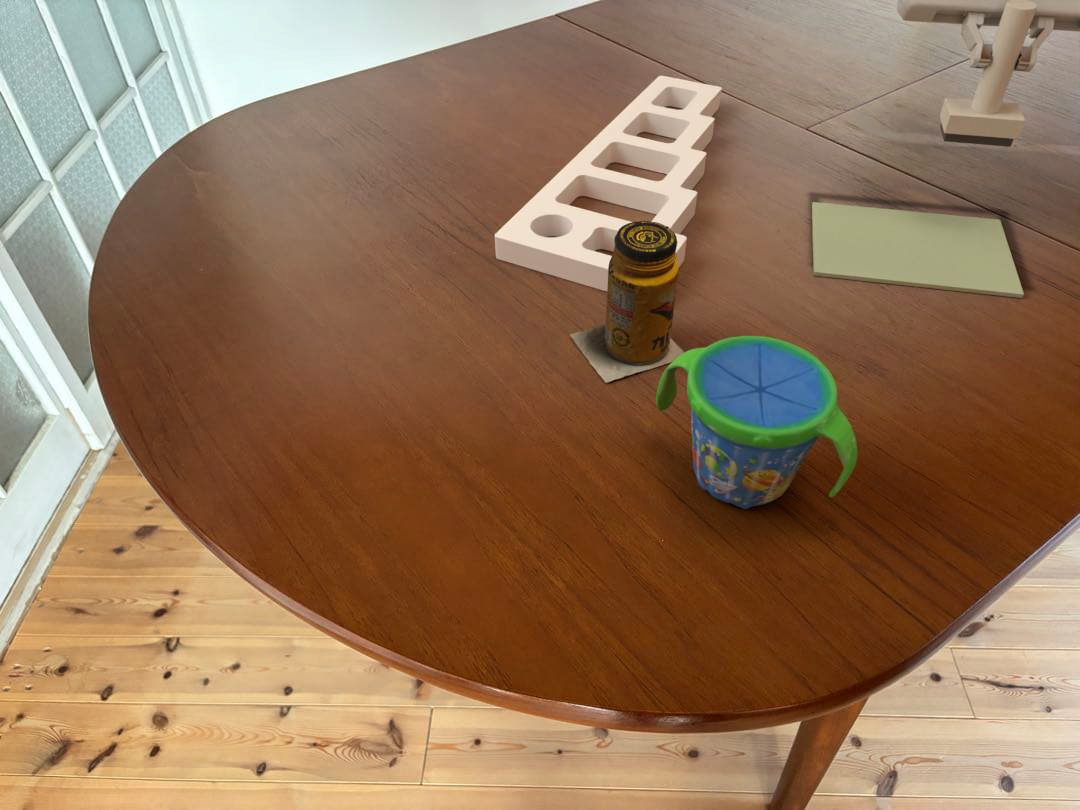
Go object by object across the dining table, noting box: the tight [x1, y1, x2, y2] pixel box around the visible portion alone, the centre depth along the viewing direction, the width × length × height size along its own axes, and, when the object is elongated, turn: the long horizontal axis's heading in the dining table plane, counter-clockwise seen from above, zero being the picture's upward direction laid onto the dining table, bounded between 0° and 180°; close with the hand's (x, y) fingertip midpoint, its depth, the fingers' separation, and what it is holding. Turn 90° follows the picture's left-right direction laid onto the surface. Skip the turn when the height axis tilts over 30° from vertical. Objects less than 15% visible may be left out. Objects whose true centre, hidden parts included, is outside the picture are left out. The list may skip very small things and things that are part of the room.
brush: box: [939, 0, 1037, 148], centre depth 83 cm, size 7×4×13 cm, turn 78°
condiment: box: [569, 220, 686, 383], centre depth 76 cm, size 7×8×12 cm
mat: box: [811, 201, 1025, 299], centre depth 91 cm, size 20×14×1 cm
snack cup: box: [655, 335, 858, 510], centre depth 65 cm, size 16×10×10 cm
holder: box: [494, 75, 723, 292], centre depth 101 cm, size 45×18×3 cm, turn 152°
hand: (1001, 67), depth 82 cm, fingers closed on brush, 2 cm apart
